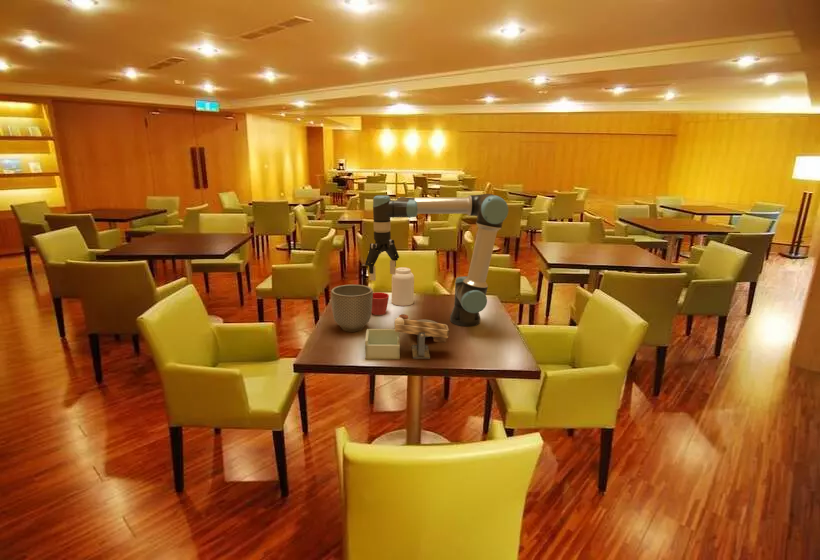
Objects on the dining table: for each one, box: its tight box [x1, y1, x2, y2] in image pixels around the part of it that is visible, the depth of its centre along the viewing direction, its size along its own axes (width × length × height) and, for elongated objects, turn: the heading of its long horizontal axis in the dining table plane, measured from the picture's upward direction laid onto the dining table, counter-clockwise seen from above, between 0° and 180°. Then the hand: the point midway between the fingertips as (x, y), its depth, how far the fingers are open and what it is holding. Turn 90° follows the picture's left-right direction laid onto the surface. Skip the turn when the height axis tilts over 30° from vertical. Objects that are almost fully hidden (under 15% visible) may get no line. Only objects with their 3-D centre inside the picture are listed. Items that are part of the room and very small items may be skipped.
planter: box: [330, 284, 374, 333], centre depth 214 cm, size 20×20×19 cm
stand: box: [411, 332, 431, 360], centre depth 190 cm, size 7×12×11 cm, turn 2°
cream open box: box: [364, 328, 401, 360], centre depth 189 cm, size 14×13×8 cm
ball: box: [394, 316, 404, 326], centre depth 187 cm, size 4×4×4 cm
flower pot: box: [371, 292, 390, 316], centre depth 237 cm, size 11×11×10 cm
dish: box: [415, 319, 438, 338], centre depth 208 cm, size 18×14×5 cm
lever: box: [394, 313, 450, 344], centre depth 194 cm, size 22×18×6 cm
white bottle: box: [391, 266, 415, 307], centre depth 253 cm, size 12×12×20 cm
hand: (383, 277), depth 206 cm, fingers open, 13 cm apart
